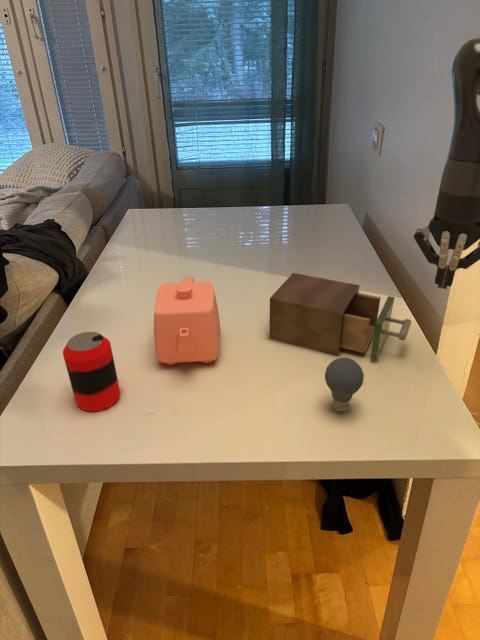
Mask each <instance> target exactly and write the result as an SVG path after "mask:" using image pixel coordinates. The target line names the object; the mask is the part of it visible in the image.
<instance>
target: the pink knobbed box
mask: <svg viewBox="0 0 480 640" xmlns="http://www.w3.org/2000/svg"><path fill="white" fill-rule="evenodd" d="M194 279H195V277H194V276H182V279H181V282H180V281H178V282H164V283H163V282H162V283H161V284H160V285H159V287H158V290H157V293H156V296H155V301H154V308H153V341H154V343H153V344H154V350H155V354H156V357H157V360H158V361H159V363H164V364H166V365H167V366H169V365H170V366H172V365H175V364H177V363H191V362H193V363H194V362H201V363H203V364H209V363H212V362H214V361H215V360H217V358H218V355H219V350H220V344H221V321H220V320H221V319H220V313H219V308H218V307H219V306H218V302H217V298H216V297H217V296H216V293H215V288H214V284H213V282H212V281H211V280H209V281H207V280H206V281H205V280H204V281H195V280H194Z"/></svg>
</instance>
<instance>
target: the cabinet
mask: <svg viewBox="0 0 480 640" xmlns="http://www.w3.org/2000/svg"><path fill="white" fill-rule="evenodd" d="M356 293H360V285H359V284H355V283H350V282H344V281H339V280H333V279H328V278H322V277H317V276H312V275H306V274H301V273H297V272H292V273H291V274H290V275H289V276H288V277H287V279H285V281H284V282H283V283H282V284H281V285H280V286H279V287H278V289H277V290H276V291H275V292H273V294H272V295H271V296H270V297H269V327H268V328H269V329H268V330H269V331H268V332H269V338H268V339H269V340H273V341H278V342H280V343H281V342H282V343H285V344H289V345H294V346H298V347H301V348H305V349H308V350H313V351H317V352H322V353H325V354H329V355H333V356H339V354H340V353H341V351H342V349H343V348H341V347H340V341H341V331H342V322H343V315H344V313H345V311H346V310H347V308H348V306H349V305H350V303H351V301H352V300H353V298H354V296H355V295H356Z"/></svg>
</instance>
